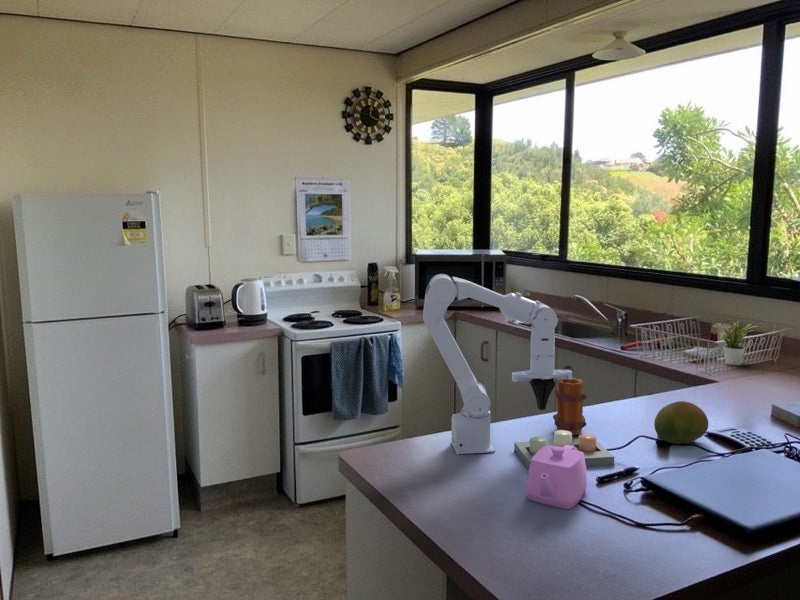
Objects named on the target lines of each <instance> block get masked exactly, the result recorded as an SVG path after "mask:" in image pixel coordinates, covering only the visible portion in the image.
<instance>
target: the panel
mask: <svg viewBox="0 0 800 600" xmlns="http://www.w3.org/2000/svg"><path fill="white" fill-rule="evenodd" d="M547 445H550V446H554V439H550V440H547ZM572 446H574V450H577V451H579V450H578V448H579V438H572ZM513 447H514V448H513V449H514V450H513V451H514V452H515V451H516V452H517V453H516V452H515V453H516V455H517V456H518V455H519V456H518V458H520V460H521V459H522V460H523V461H522V460H521V461H522V462H523V463H525V464H526V465H525V464H524V465H525V466H526V468H527V467H528V468H527V469H528V470H529V467H530V463H531V459H532V458H533V456H534V455H530V441H515V442H514V446H513ZM583 453H584V457H585V464H586V468H587V467H600V466H601V467H602V465H603V466H614V465H615V456H614V455H613V453H611V452H610V451H609V450H608V449H606V447H604V446H603V445H602V444H601V443H600V442H598V441H597V440H596V452H583Z"/></svg>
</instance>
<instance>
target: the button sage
mask: <svg viewBox="0 0 800 600" xmlns="http://www.w3.org/2000/svg"><path fill="white" fill-rule="evenodd" d="M547 441H548V440H547V438H545V437H541V436H533V437H529V442H530V455H535V454H536V453H537V452H538V451H539V450H540V449H541V448H543V447H544V446H546V445H547Z"/></svg>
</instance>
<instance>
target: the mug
mask: <svg viewBox="0 0 800 600" xmlns="http://www.w3.org/2000/svg"><path fill="white" fill-rule="evenodd" d="M557 383H558V384H557V385H558V387H557V388H556V389H555V390H554V393H555V397H556V399H557V403H556V404H557V405H556V406H557V413H556V414H553V415H552V418H553V420H554V426H555V427H556V431H558V430H566V431H569V432H571V433H572V437H573V436H579V435H581V434H582V432H583V429H584V427H586V426H587V422H586V417H585V416H584V415H583V410H584V400H586V399H587V394H586V391H585V390H584V381H583V380H582V379H579V378H578V379H577V378H576V377H572V379H570V380H568V379H558V381H557Z"/></svg>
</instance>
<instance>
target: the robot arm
mask: <svg viewBox="0 0 800 600" xmlns="http://www.w3.org/2000/svg"><path fill="white" fill-rule="evenodd" d="M468 298H470V299H473V300H476V301H479V302H481V303H484V304H487V305H491V306H494V307H496V308H499V311H500V313H501V314H502V316H505V317H507V318H510V319H513V320H515V321H518V322H520V323H523V324H526V325H529V324H531V331H530V332H531V333H530V347H529V348H530V351H529V354H530V356H529V359H530V360H529V363H530V366H529V367H530V369H527V370H522V371H516V372H515V371H513V372H512V373H511V381H512V382H514V383H518V382H529V384H530V386H531V388H532V391H533V393H534V396H535V401H536V405H537V408H538V409H539V410H540V411H543V410H546V409H547V404H548V401H549V398H550V395H551V393H552V392H553V390H554V388H555V387H556V382H555V380H560V379H568V380H570V379H572V378H573V371H572V370H571V369H555V347H556V346H555V344H556V341H555V340H556V337H555V331H556V329H555V328H556V327H557V325H558V324H559V318H558V317H557V314H556V312H555V310H554V309H552V308H551V307H550V306H548V305H547V304H545V303H543V302H540V301H539V300H537V299H536V300H535V301H534V300H532V299H529V298H526V297H525V296H522V293H520V292H517V291H516V292H515V293H513V292H509V293H507V294H501V293H498V292H496V291H493V290H491V289H489V288H486V287H484V286H482V285H479V284H478V283H474V282H472V281H469V280H466V279H464V278H459V277H457V276H452V277H451V276H449V275H448V274H445V273H439V274H438V273H437V274H436V275H434V276H433V277H431V278H430V280H429V283H428V284H427V287H426V289H425V295H424V303H423V310H422V320H423V323H424V325H425V327H426V328H427V330H428V332H429V335H430V336H431V338H432V340H433V342H434V343H435V345H436V347H437V349H438V351H439V352H440V354H441V356H442V358H443V360H444V362H445V364H446V366H447V368H448V369H449V372H450V373H451V375H452V377H453V379H454V381H455V382H456V384H457V388H458V389H459V392H460V395H461V398H462V401H463V406H462V408H460V412H458V413H453V414H452V415H451V440H450V443H451V445H452V447H453V449H454V452H455V454H456V455H468V454H484V453H488V454H489V453H495V452H496V449H495V448H494V447H493V445H492V444H491V410H490V409H491V399H490V397H489V396H488V394H487V389H486V386H485V385H483V384H482V383H480V382H479V381H478V380H477V378H476V376H475V374H474V373H473V372H472V370H471V368H470V366H469V364H468V362H467V360H466V358H465V356H464V355H463V353H462V351H461V349H460V347H459V345H458V343H457V342H456V339H455V338H454V336H453V334H452V332H451V330H450V328H449V326H448V324H447V322H446V320H445V319H444V317H445V315H446V313H447V310H448V307H449V306H450V305H451V304H452V303H453V302H454V300H455V299H457V301H461V300H464V299H468Z"/></svg>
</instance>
